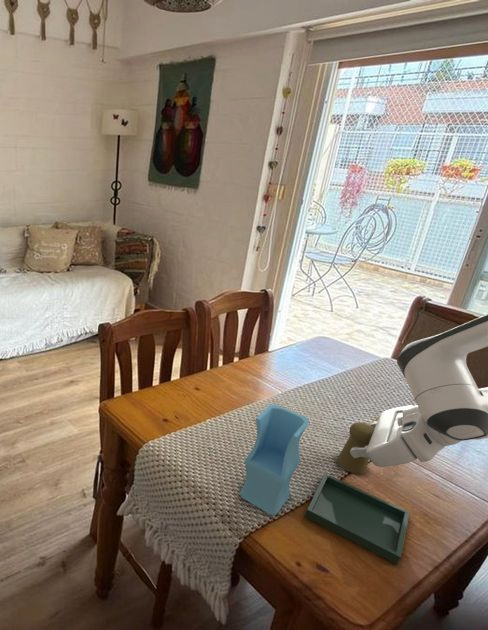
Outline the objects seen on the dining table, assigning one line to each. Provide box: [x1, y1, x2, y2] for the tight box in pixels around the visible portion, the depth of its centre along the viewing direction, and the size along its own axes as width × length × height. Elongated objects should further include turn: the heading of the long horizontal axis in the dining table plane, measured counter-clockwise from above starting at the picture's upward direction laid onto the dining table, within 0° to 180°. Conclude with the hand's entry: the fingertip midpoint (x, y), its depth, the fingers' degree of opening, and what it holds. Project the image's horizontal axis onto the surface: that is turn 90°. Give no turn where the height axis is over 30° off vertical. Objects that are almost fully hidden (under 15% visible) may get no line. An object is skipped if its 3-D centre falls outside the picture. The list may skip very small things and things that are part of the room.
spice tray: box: [304, 473, 411, 565], centre depth 88 cm, size 16×14×2 cm
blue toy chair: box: [239, 403, 311, 516], centre depth 89 cm, size 8×8×20 cm
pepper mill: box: [336, 421, 374, 475], centre depth 101 cm, size 6×6×11 cm
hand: (356, 442), depth 100 cm, fingers open, 8 cm apart
